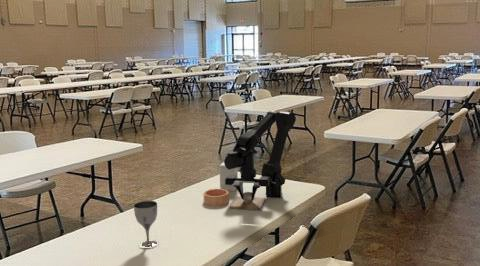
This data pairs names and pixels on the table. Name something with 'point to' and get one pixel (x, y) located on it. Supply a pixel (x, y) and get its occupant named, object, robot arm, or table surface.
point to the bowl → (216, 197)
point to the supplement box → (223, 175)
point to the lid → (248, 202)
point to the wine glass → (146, 217)
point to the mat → (248, 209)
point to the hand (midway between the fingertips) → (248, 199)
